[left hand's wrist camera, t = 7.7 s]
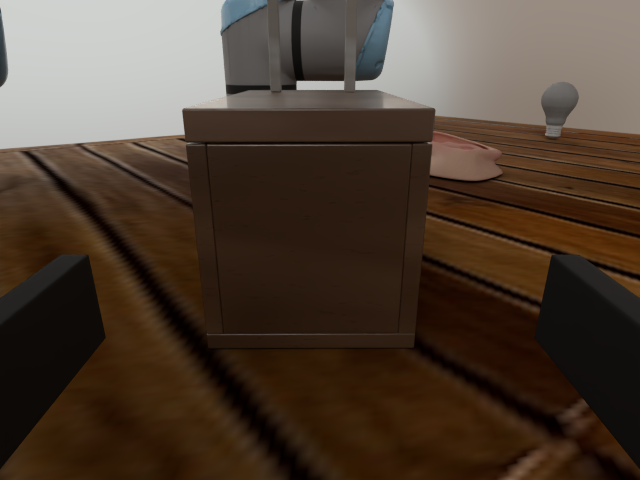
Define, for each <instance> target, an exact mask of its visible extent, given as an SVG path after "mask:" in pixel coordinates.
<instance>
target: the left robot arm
mask: <svg viewBox="0 0 640 480" xmlns="http://www.w3.org/2000/svg"><path fill="white" fill-rule="evenodd" d="M7 75H8V63H7V52H6V44H5V37H4V29H3V22H2V15H1V9H0V87H1V86H2V85H3V84H4V83H5V81H6V79H7ZM105 338H106V337H105V332H104V328H103V323H102V318H101V313H100V309H99V304H98V299H97V294H96V290H95V285H94V280H93V275H92V271H91V266H90V261H89V256H88V255H60V256H59V257H57V258H56V259H55V260H53V261H52V262H50V263H49V264H48V265H46V266H45V267H43V268H42V269H41V270H39V271H38V272H36V273H35V274H34V275H32V276H31V277H29V278H28V279H27V280H25V281H24V282H22V283H21V284H20V285H18V286H17V287H15V288H14V289H13V290H11V291H10V292H8V293H7V294H6V295H4V296H3V297H1V298H0V469H1V468H2V466H3V465H4V464H5V463H6V461H7V460H8V459H9V458H10V456H11V455H12V454H13V453H14V451H15V450H16V449H17V448H18V446H19V445H20V444H21V443H22V441H23V440H24V439H25V438H26V436H27V435H28V434H29V433H30V431H31V430H32V429H33V428H34V426H35V425H36V424H37V423H38V421H39V420H40V419H41V418H42V416H43V415H44V414H45V413H46V411H47V410H48V409H49V408H50V406H51V405H52V404H53V403H54V401H55V400H56V399H57V398H58V396H59V395H60V394H61V393H62V391H63V390H64V389H65V388H66V386H67V385H68V384H69V383H70V381H71V380H72V379H73V378H74V376H75V375H76V374H77V373H78V371H79V370H80V369H81V368H82V366H83V365H84V364H85V363H86V361H87V360H88V359H89V358H90V357H91V355H92V354H93V353H94V352H95V350H96V349H97V348H98V347H99V345H100V344H101V343H102V342H103V340H104V339H105ZM534 338H535V339H536V340H537V342H538V343H539V344H540V345H541V347H542V348H543V349H544V350H545V352H546V353H547V354H548V355H549V357H550V358H551V359H552V360H553V361H554V363H555V364H556V365H557V366H558V368H559V369H560V370H561V371H562V373H563V374H564V375H565V376H566V378H567V379H568V380H569V381H570V383H571V384H572V385H573V386H574V388H575V389H576V390H577V391H578V393H579V394H580V395H581V396H582V398H583V399H584V400H585V401H586V403H587V404H588V405H589V406H590V408H591V409H592V410H593V411H594V413H595V414H596V415H597V416H598V418H599V419H600V420H601V421H602V423H603V424H604V425H605V426H606V428H607V429H608V430H609V431H610V433H611V434H612V435H613V436H614V438H615V439H616V440H617V441H618V443H619V444H620V445H621V446H622V448H623V449H624V450H625V451H626V453H627V454H628V455H629V456H630V458H631V459H632V460H633V461H634V463H635V464H636V465H637V466H638V468H639V469H640V298H639V297H637V296H636V295H634V294H633V293H632V292H630V291H629V290H627V289H626V288H625V287H623V286H622V285H620V284H619V283H618V282H616V281H615V280H613V279H612V278H611V277H609V276H608V275H606V274H605V273H604V272H602V271H601V270H599V269H598V268H597V267H595V266H594V265H592V264H591V263H590V262H588V261H587V260H585V259H584V258H583V257H581V256H580V255H552V256H551V261H550V266H549V271H548V275H547V280H546V285H545V290H544V294H543V299H542V304H541V309H540V313H539V318H538V323H537V328H536V332H535V337H534Z"/></svg>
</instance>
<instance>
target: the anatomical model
mask: <svg viewBox="0 0 640 480" xmlns="http://www.w3.org/2000/svg"><path fill="white" fill-rule="evenodd" d="M430 143H431V144H432V155H431V166H430V175H431V176H436V177H442V178H449V179H456V180H465V181H481V180H486V179H490V178H494V177H497V176H499V175H501V174H502V173H503V172H502V170H501V169H500V168H499V167H498V166H497V165H496V164H495V161H496V160H498V159H499V158H500V157H501V155H502V152H501V151H500V150H497V149H494V148H491V147H488V146H485V145H483V144H480V143H477V142H474V141H470V140H467V139H463V138H460V137H456V136H453V135H449V134H446V133H441V132H436V131H433V140H432V142H430Z"/></svg>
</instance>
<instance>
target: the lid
mask: <svg viewBox="0 0 640 480" xmlns="http://www.w3.org/2000/svg"><path fill="white" fill-rule="evenodd" d="M267 13H268V38H269V64H270V89H271V90H248V91H245V92H241V93H237V94H234V95H230V96H227V97H223V98H220V99H216V100H213V101H209V102H205V103H202V104H198V105H194V106H191V107H187V108H184V109H183V110H182V112H183V122H184V131H185V140H186V142H188V143H253V142H432V140H433V131H434V120H435V109H434V108H431V107H428V106H425V105H422V104H419V103H416V102H413V101H409V100H406V99H403V98H400V97H397V96H394V95H391V94H387V93H384V92H381V91H378V90H355V72H356V35H357V0H346V17H345V71H344V90H282V89H281V56H280V24H279V0H267Z"/></svg>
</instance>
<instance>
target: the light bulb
mask: <svg viewBox="0 0 640 480" xmlns="http://www.w3.org/2000/svg"><path fill="white" fill-rule="evenodd" d="M577 102H578V92H577V90H576V88H575V87H574V86H573V85H571V84H570V83H566V82H559V83H555V84H553V85H551V86H550V87H549V88H548V89H547V90H546V91H545V92H544V94H543V96H542V100H541V103H542V107H543V110H544V112H545V115H546V124H547V127H546V128H547V129H546V130H547V131H546V133H545V135H546V136H547V137H548V138H557V137H559V136H561V135H560V134H561V133H560V131H561V129H562V126H563V124H564V123H565V121H566V118H567V116H568V115H569V114H570V112H571V111H572V110H573V109H574V108H575V106H576V104H577Z"/></svg>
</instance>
